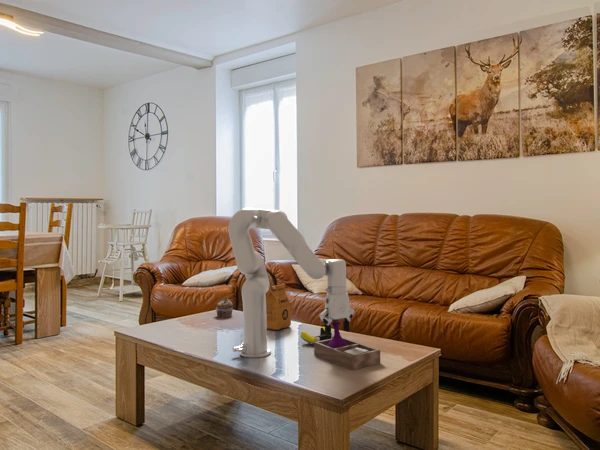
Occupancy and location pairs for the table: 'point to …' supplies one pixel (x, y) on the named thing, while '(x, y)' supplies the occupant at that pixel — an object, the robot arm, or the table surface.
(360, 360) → the divided wooden tray
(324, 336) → the gaming controller
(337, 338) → the perfume bottle
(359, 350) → the upper offcut
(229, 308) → the cupcake
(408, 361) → the table surface
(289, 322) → the coffee package
